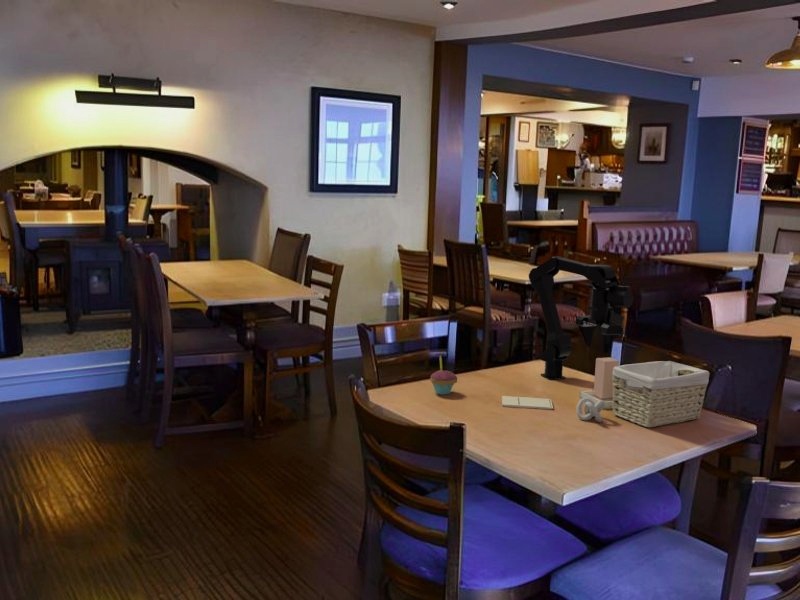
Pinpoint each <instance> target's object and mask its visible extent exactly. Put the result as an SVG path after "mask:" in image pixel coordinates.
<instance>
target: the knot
mask: <svg viewBox="0 0 800 600" xmlns="http://www.w3.org/2000/svg"><path fill="white" fill-rule="evenodd" d="M604 405H605V402H604V401H602V400H601V401H599V402H597V403H596V405H595V403H594V401H593V400H592V399H590V398H583V399H581V398H580V400H579V401H578V402H577V404H576V409H575V410H576V415H577V417H578V419H579V420H581V421H585V422H586V421H590V420H591V419H592V418H593V417H595V419H596V421H597V422H598V423H601V422H603V418H602V416H601V414H600V412H601V411H603V410H604V409H603V407H604ZM583 406H584V407H583ZM582 408H584V414H585V415H584V414H583V411H582Z"/></svg>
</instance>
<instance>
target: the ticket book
mask: <svg viewBox="0 0 800 600" xmlns="http://www.w3.org/2000/svg"><path fill="white" fill-rule="evenodd" d="M501 407H506V408H507V407H509V408H522V409H523V408H525V409H535V408H537V409H538V410H539V409H540V410H551V409H553V410H554V407H553V403H552V399H551V398H539V397H526V396H525V397H524V396H523V397H522V396H511V395H510V396H508V395H501ZM537 409H536V410H537Z"/></svg>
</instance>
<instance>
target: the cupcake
mask: <svg viewBox="0 0 800 600" xmlns="http://www.w3.org/2000/svg"><path fill="white" fill-rule="evenodd" d="M430 382H431V383H432V386H433V388H434V391H435V392H434V393H436V394H437V395H443V396H444V395H449V394H451V392H452V389H453V386H454V385H455V384H456V383H457V382H458V377H457V375H456V374H455V373H453V372H452V371H449V370H443V359H442V356H441V354H439V370H436V371H435V372H433V373H431V375H430Z"/></svg>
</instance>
